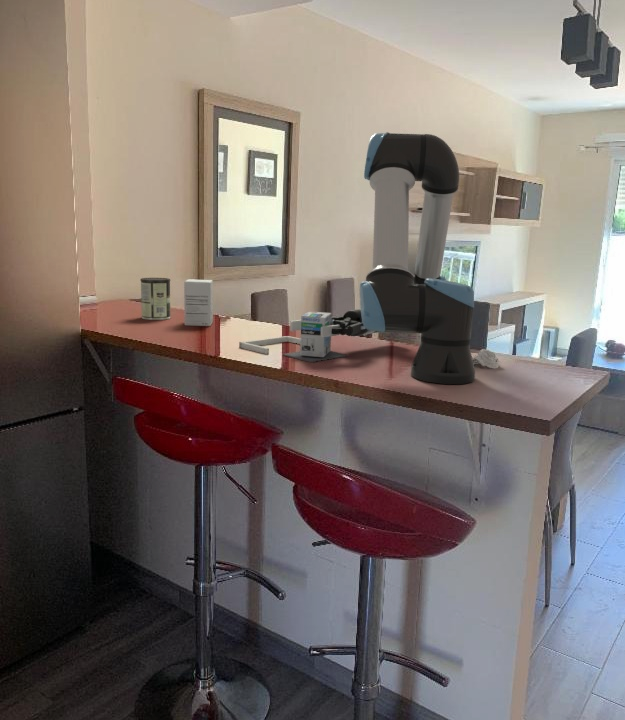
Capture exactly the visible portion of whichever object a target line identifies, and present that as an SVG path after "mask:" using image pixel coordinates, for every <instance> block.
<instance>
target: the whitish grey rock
mask: <svg viewBox="0 0 625 720" xmlns="http://www.w3.org/2000/svg"><path fill="white" fill-rule="evenodd" d="M472 360H473V364H474V365H479V364H480V365H481V366H482V367H488V368H490V369H498V368H499V362H500V361H499V358H498V355H497V353H495V352H494V351H491V350H489V349H485V348H481V349H480V350H479V352H478V353H477V355H475V356H474V357H473V358H472Z"/></svg>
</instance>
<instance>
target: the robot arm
mask: <svg viewBox="0 0 625 720" xmlns="http://www.w3.org/2000/svg"><path fill="white" fill-rule="evenodd" d="M365 159H366V160H365V164H364V173H363V174H364V175H363V178H364V179H365V180H367V181H369V186H370V188H371V189H372V190H373V191H374V209H373V210H374V213H373V214H374V215H373V217H374V218H373V242H372V243H373V245H372V247H373V248H372V269H371V270H370V271H369V272H368V273H367V275H366V276H365V280H364V281H361V282H360V283H359V306H360V309H351V310H347V311H346V312H345V313H344V314H343V315H342V316H341V315H340V316H337V317H336V316H334V317H333V316H332V325H331V326H323V327H321V337H329V336H331V337H335V336H340V335H341V336H345V335H346V336H348V337H358V336H362V335H363V336H364V337H367V335H369V334H376V333H409V334H420V344H419V347H418V349H417V352H416V354H415V357H414V359H413V361H412V364H411V368H410V376H411V377H413V379H417V380H420V381H422V382H427V383H432V384H433V383H434V384H442V385H464V384H469V383H472V382H474V381H475V377H476V375H475V374H476V370H475V364H473V357H472V352H471V347H470V346H471V337H472V326H473V316H474V308H475V291H474V289H473V288H472V287H471V286H470V285H468V284H463V283H460V282H455V281H450V280H447V279H446V277H445V276H443V275H442V269H443V268H442V267H443V261H444V255H445V248H446V241H447V237H448V236H447V235H448V230H449V229H448V228H449V223H450V216H451V211H452V210H451V209H452V205H453V197H454V194H456V193H457V192H458V190H459V185H460V169H459V165H458V161H457V157H456V156H455V153H454V152H453V150H452V148H451V147H450V146H449V145H448V143H447V142H446V141H445V140H444V139H442V138H440V137H439V136H437V135H434V134H429V133H424V134H420V133H390V132H388V131H387V132H377V133H373V134H372V135H371V137H370V138H369V141H368V146H367V151H366V158H365ZM416 182H421V189H422V190H423V191H424V193H423V195H424V196H423V201H422V202H423V203H422V209H421V219H420V220H421V221H420V228H419V234H418V236H419V237H418V243H417V250H416V251H417V252H416V259H415V266H414V273H412V272H411V271H410V270H409V224H410V223H409V219H410V216H409V212H410V208H409V207H410V191H411V190H412V189H413V188H414V186H415V183H416ZM289 331H290V332H296V331H301V319H297V320H290V321H289Z"/></svg>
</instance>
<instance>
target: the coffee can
mask: <svg viewBox="0 0 625 720" xmlns="http://www.w3.org/2000/svg"><path fill="white" fill-rule="evenodd" d="M140 293H141V294H140V299H141V300H140V301H141V305H140V306H141V319H143V320H148V321H149V320H150V321H162V320H163V321H164V320H170V319H171V279H170V278H168V277H166V278H165V277H142V278H140Z"/></svg>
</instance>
